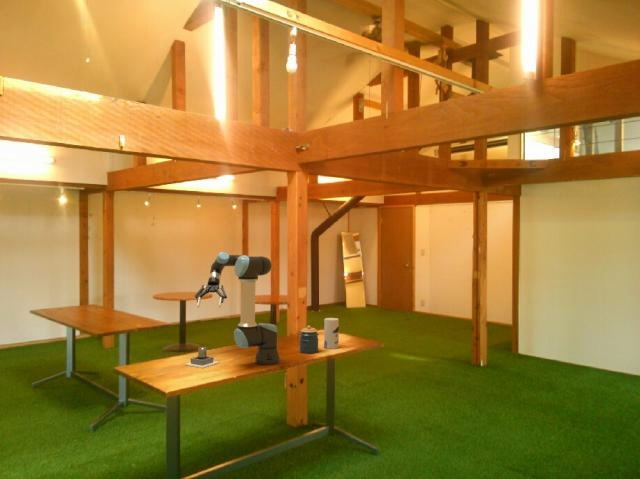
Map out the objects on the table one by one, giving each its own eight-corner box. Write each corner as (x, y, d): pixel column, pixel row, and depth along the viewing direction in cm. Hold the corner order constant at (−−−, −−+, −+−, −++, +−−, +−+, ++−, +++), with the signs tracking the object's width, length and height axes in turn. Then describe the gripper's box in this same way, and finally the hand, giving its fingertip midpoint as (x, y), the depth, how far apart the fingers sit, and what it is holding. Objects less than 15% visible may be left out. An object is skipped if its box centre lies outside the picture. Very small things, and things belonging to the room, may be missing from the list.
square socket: (218, 363, 289) (219, 356, 289) (202, 368, 276) (202, 361, 276) (201, 360, 296) (201, 354, 296) (184, 365, 283) (185, 358, 283)
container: (337, 349, 328) (337, 320, 328) (322, 348, 330) (323, 319, 330) (339, 346, 337) (339, 317, 337) (325, 345, 339) (325, 317, 339)
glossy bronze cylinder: (208, 362, 287) (208, 347, 287) (202, 364, 283) (202, 349, 283) (202, 361, 290) (202, 346, 290) (196, 363, 285) (196, 348, 285)
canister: (315, 348, 329) (315, 323, 329) (321, 353, 316) (321, 326, 316) (296, 350, 324) (297, 324, 324) (302, 354, 312) (302, 327, 312)
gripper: (233, 284, 319) (229, 310, 304) (196, 284, 318) (190, 309, 303) (232, 277, 313) (228, 302, 298) (194, 276, 313) (188, 302, 298)
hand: (208, 306), depth 301 cm, fingers open, 13 cm apart
